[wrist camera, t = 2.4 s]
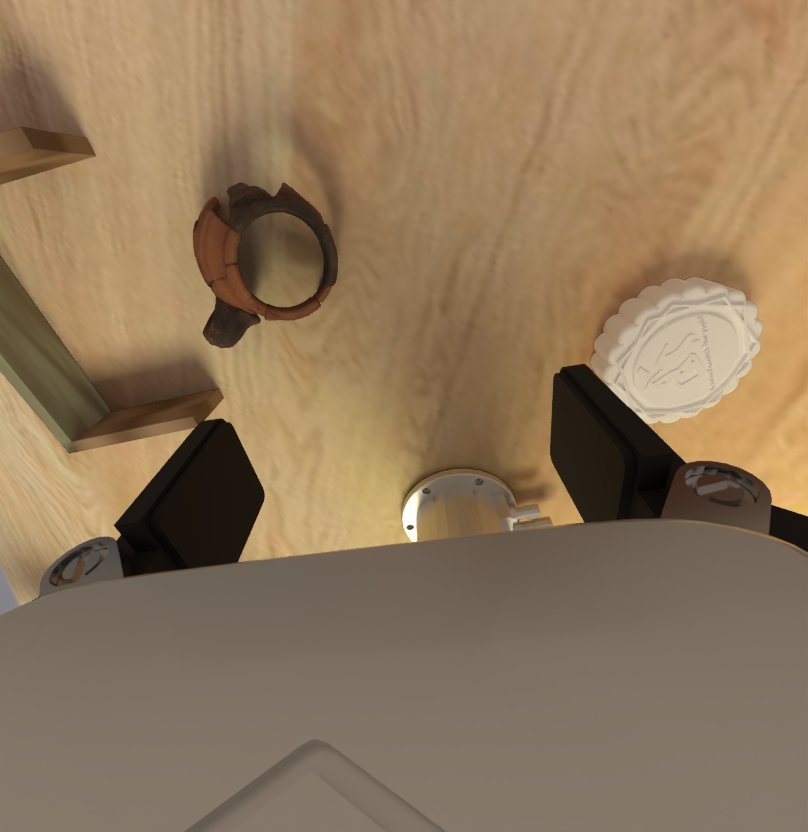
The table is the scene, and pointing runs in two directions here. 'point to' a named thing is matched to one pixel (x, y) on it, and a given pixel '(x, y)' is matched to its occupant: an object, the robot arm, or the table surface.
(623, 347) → the mooncake
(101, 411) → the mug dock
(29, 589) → the table surface
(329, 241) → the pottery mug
